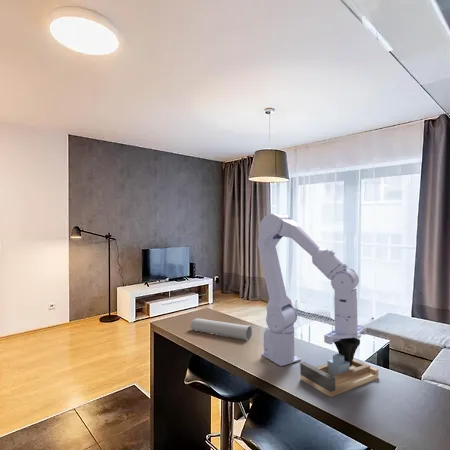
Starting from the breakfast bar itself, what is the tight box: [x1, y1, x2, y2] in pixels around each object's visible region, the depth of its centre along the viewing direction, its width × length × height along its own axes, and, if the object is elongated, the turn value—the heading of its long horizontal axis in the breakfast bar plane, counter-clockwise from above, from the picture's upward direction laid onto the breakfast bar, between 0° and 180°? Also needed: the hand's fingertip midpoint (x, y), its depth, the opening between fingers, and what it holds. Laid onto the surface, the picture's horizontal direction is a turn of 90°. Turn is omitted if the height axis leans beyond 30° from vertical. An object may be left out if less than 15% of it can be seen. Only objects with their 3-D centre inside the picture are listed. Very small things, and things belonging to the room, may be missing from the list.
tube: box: [190, 317, 253, 342], centre depth 114 cm, size 5×5×25 cm
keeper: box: [327, 353, 350, 376], centre depth 79 cm, size 4×4×5 cm
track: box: [299, 358, 379, 398], centre depth 80 cm, size 10×18×4 cm, turn 119°
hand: (346, 365), depth 81 cm, fingers closed
